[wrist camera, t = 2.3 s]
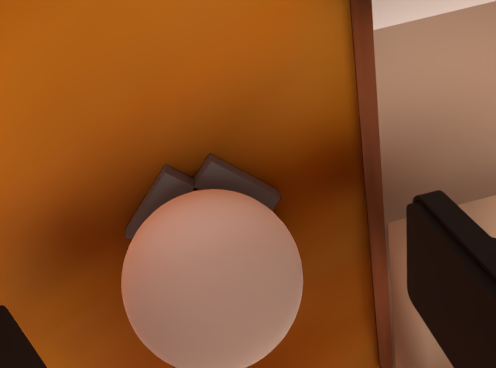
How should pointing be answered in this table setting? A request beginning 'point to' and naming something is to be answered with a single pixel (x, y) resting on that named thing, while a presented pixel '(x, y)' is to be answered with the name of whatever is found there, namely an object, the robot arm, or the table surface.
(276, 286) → the ball
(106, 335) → the table surface
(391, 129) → the lane
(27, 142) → the table surface
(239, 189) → the grey piece
